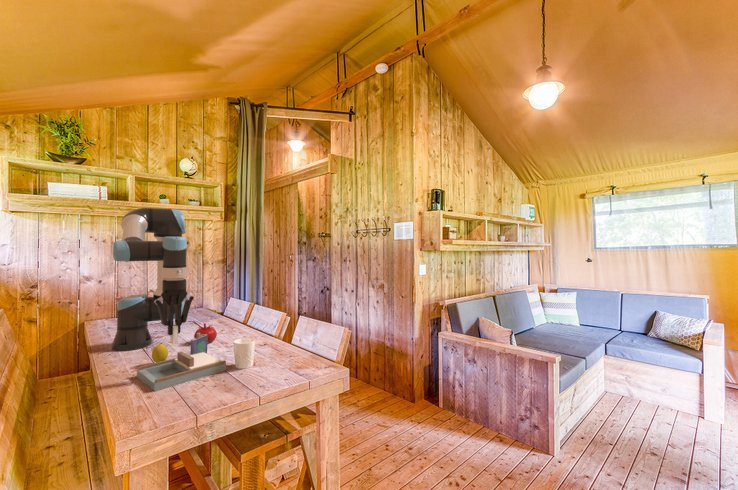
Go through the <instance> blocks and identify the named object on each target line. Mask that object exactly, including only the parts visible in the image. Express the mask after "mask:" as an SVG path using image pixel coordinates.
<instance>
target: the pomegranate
mask: <svg viewBox="0 0 738 490" xmlns="http://www.w3.org/2000/svg"><path fill="white" fill-rule="evenodd" d="M196 333H197V334H198V333H201V334H200V335H202V334H207V335H208V341H207V344H209V343H213V342H214V341H215V340H216V338H217V335H218V332H217V330H216V329H215V328H214V327H213V326H212V325H209V326H207V323H203V326H201V325H200V326H198V328H197V329H196V331H195V333H194V335H193V338H195V337H197V334H196Z"/></svg>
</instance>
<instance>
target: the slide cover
mask: <svg viewBox="0 0 738 490" xmlns="http://www.w3.org/2000/svg"><path fill="white" fill-rule="evenodd" d="M189 355H190V354H187V353H185V352H184V351H178V352H177V357H176V358H177V359H175V362H177V363H178V364H180V365H182V366H184V367H185V368H187V369H189V370H191V369H195V368H199V367H202V366H206V365H210V364H213V363H217V362H221V361H222V360H221V359H219V358H217V357H215V356H213V355H210V354H209V353H208V352H207V353H205V352H202V353H198V354H194V355H190V356H189Z"/></svg>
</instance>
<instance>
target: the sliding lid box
mask: <svg viewBox="0 0 738 490" xmlns="http://www.w3.org/2000/svg"><path fill="white" fill-rule="evenodd" d="M203 352H205V353H206V351H203ZM199 353H202V352H199ZM194 354H198V353H194ZM194 354H188V355H189V356H190V355H194ZM175 359H177V357H174V358H169V359H166V360H165V361H161V362H157V363H156V362H154V363H149V364H145V365H144V364H143V365H141V366H140V365H139V366H138V369H136V378H138V379H139V380H140V381H142V382H143V384H145V385H146V386H147V387H149V388H150V389H151V390H152V391H154V392H157V391H161V390H163V389H167V388H171V387H173V386H178V385H181V384H184V383H185V384H186V383H187V382H191V381H194V380H198V379H201V378H203V377H204V378H205V377H208V376H211V375H215V374H218V373H222V372H224V371H226V370H227V361H226V360H224V359H223V360H221V362H217V363H213V364H210V365H206V366H202V367H199V368H195V369H191V370H189V369H187V368H185V367H184V366H182V365H180V364H178V363H177V362H175Z"/></svg>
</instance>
